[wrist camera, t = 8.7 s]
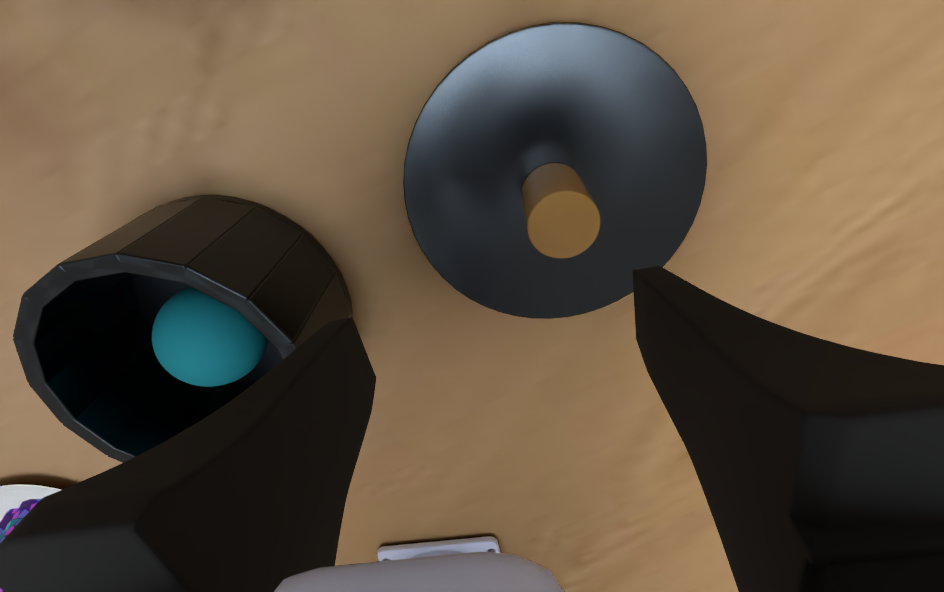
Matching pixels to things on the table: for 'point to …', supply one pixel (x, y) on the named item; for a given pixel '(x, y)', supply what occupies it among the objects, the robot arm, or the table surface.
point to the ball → (205, 340)
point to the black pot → (140, 299)
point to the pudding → (18, 504)
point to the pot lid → (554, 169)
